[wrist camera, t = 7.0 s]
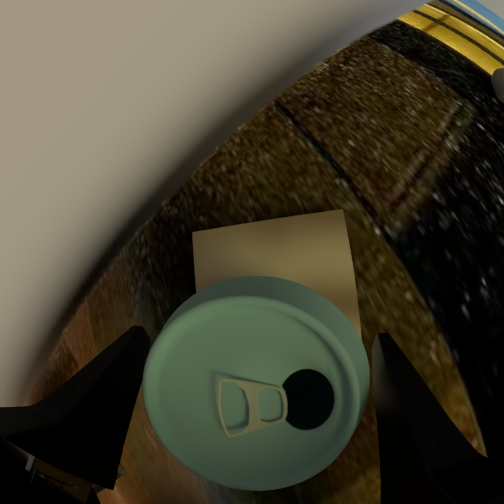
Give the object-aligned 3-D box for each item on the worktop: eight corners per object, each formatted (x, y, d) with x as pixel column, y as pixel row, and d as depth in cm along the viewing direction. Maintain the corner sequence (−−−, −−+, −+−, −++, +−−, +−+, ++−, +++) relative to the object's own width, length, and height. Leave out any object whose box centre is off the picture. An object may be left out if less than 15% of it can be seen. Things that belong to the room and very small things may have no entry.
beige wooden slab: (358, 395, 18) (364, 405, 16) (221, 406, 20) (211, 417, 17) (338, 219, 21) (342, 209, 18) (204, 239, 23) (192, 232, 20)
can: (282, 270, 18) (249, 209, 7) (354, 344, 17) (434, 401, 5) (208, 339, 18) (87, 374, 7) (276, 411, 16) (238, 530, 5)
